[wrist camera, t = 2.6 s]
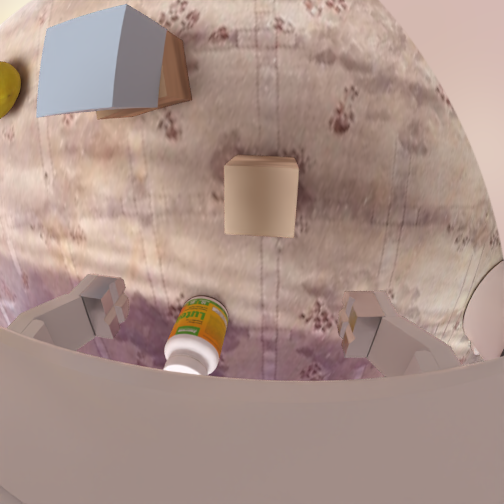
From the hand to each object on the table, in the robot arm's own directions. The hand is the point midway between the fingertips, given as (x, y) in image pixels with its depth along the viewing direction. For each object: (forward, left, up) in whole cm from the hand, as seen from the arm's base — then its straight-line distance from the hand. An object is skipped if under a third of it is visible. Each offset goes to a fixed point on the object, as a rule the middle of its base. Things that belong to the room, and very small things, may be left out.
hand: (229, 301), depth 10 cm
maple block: (0, 0, -17) cm, 17 cm away
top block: (+10, -10, -11) cm, 18 cm away
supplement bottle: (+6, +15, -17) cm, 23 cm away
